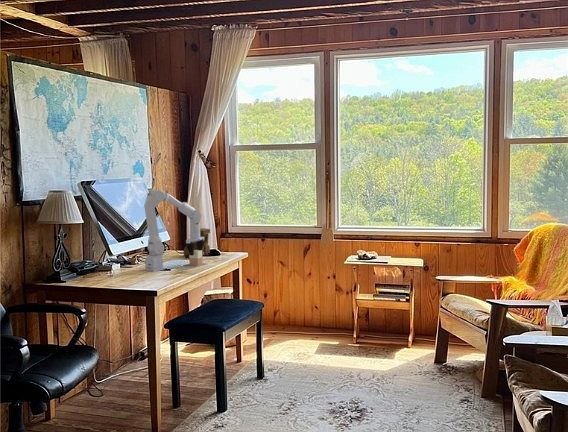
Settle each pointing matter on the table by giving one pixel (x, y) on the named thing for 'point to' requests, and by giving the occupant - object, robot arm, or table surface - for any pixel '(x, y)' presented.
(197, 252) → the cream brick
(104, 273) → the table surface
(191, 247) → the robot arm
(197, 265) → the baseplate
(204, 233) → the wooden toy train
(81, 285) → the table surface
